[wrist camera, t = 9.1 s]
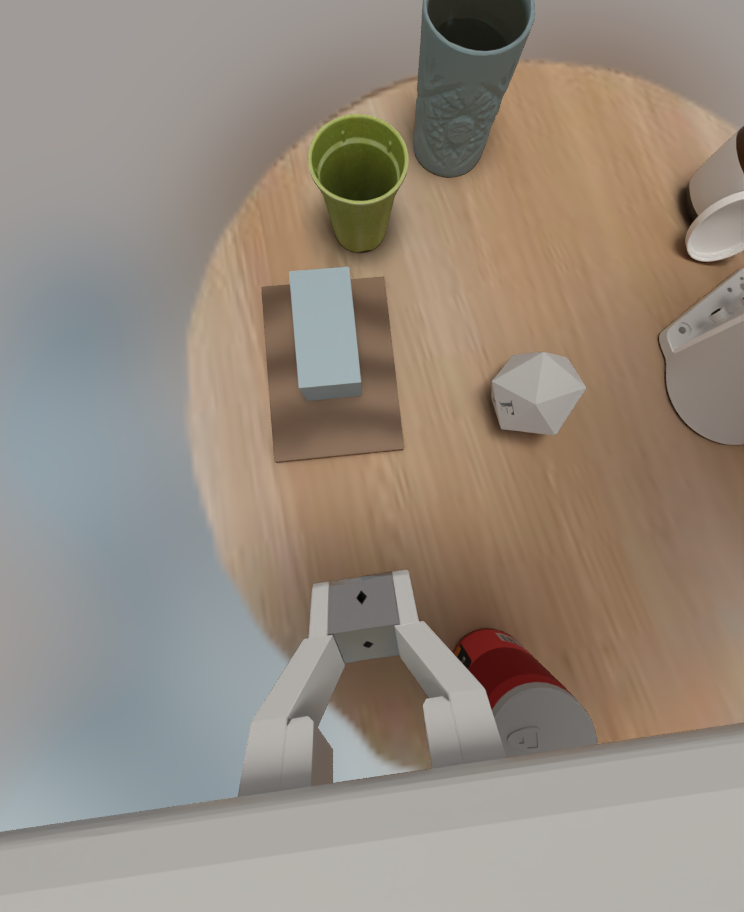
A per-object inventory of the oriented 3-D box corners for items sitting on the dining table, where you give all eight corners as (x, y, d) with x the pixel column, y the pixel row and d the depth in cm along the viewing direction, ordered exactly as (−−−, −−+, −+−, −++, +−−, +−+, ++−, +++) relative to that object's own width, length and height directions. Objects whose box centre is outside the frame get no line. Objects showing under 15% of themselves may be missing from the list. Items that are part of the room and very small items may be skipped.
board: (403, 449, 37) (404, 448, 36) (276, 462, 36) (274, 461, 35) (383, 282, 39) (384, 276, 38) (264, 292, 38) (261, 286, 37)
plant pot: (373, 281, 39) (375, 220, 30) (305, 241, 39) (288, 171, 30) (413, 219, 40) (426, 144, 31) (346, 181, 40) (341, 96, 31)
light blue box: (361, 382, 32) (348, 265, 33) (298, 388, 31) (288, 270, 33) (361, 395, 36) (350, 292, 37) (306, 401, 36) (297, 296, 37)
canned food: (439, 638, 35) (474, 706, 24) (511, 615, 35) (577, 672, 24) (462, 713, 34) (508, 819, 23) (534, 689, 34) (614, 782, 23)
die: (486, 359, 39) (477, 371, 31) (571, 337, 35) (586, 344, 27) (498, 425, 41) (493, 453, 33) (579, 411, 37) (596, 439, 29)
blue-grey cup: (448, 197, 40) (483, 73, 28) (388, 144, 41) (398, 1, 29) (503, 146, 41) (559, 4, 29) (444, 95, 42) (476, -65, 30)
